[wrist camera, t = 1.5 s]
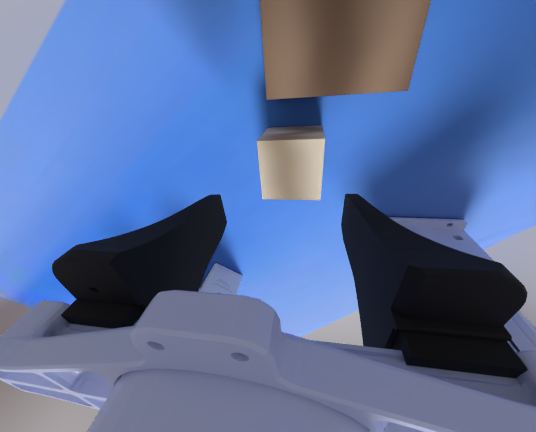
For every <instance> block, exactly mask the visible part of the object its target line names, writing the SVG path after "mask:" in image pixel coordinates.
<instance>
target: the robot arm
mask: <svg viewBox="0 0 536 432" xmlns="http://www.w3.org/2000/svg"><path fill="white" fill-rule="evenodd" d="M449 223H450V224H449ZM226 224H227V221H226V216H225V212H224V208H223V204H222V200H221V196H220V195H209V196H207V197H205V198H203V199H201V200H199V201H197V202H196V203H194V204H192V205H190V206H189V207H187V208H185V209H183V210H181V211H179V212H177V213H176V214H174V215H172V216H170V217H168V218H166V219H164V220H161V221H159V222H157V223H154V224H152V225H149V226H147V227H144V228H141V229H138V230H135V231H132V232H129V233H126V234H122V235H119V236H115V237H111V238H108V239H103V240H99V241H94V242H89V243H85V244H79V245H76V246H74V247H73V248H71V249H70V250H69V251H67V252H66V253H65V254H63V255H62V256H61V257H59V258H58V259H57V260H55V261H54V263H53V264H52V270H53V273H54V275H55V277H56V278H57V279H58V280H59V282H60V283H61V284H62V285H63V286H64V287H65V288H66V289H67V290H68V291H69V292H70V293H71V294H72V295H73V296H74V297H75V298H76V300H75V301H74V302H73V303H72V304H71V305H69V304H67V303H64V302H56V301H47V300H44V301H41V302H39V303H38V304H37V305H36V306H35V307H34V308H33V309H31V310H30V311H29V312H28V313H27V314H26V315H25V316H23V317H22V318H21V319H20V320H19V321H17V323H15V324H14V325H13V326H12V327H11V328H10V329H8V330H7V331H6V332H5V333H4V334H2V335H1V336H0V380H2V381H4V382H6V383H8V384H9V385H12V386H14V387H16V388H18V389H20V390H22V391H25V392H30V393H34V394H39V395H44V396H48V397H52V398H56V399H60V400H64V401H68V402H71V403H75V404H79V405H83V406H86V407H90V408H93V409H97V410H100V411H99V412H98V414H97V416H96V417H95V419H94V421H93V422H92V424H91V426H90V427H89V429H88V430H87V432H536V327H535V326H534V325H533V324H532V323H531V322H530V321H529V320H528V319H527V318H526V317H525V316H524V315H523V314H522V313H521V312H520V311H519V310H520V309H521V307H522V306H523V305H524V303H525V302H526V298H527V291H526V289H525V287H524V285H523V284H522V283H521V282H520V281H519V280H518V279H517V278H516V277H515V276H514V275H512V273H510V272H509V270H508V269H507V268H505V266H503V265H502V264H501V263H498V262H495V261H494V260H492V258H491V257H489V256H488V254H487V253H486V252H485V251H484V250H483V249H482V248H481V247H480V246H479V245H478V244H477V243H476V242H475V241H474V240H473V239H472V238H471V237H470V236H469V235H468V234H467V233H466V232H465V231H464V229H465V227H466V225H467V223H466V222H465V221H464V220H459V219H428V218H398V217H387V216H386V215H384V214H383V213H382V212H380V211H379V210H377V209H376V208H375V207H373V206H372V205H371V204H370V203H368V202H367V201H366V200H365V199H363V198H362V197H361V196H359V195H358V194H345V201H344V208H343V215H342V223H341V226H342V234H343V240H344V244H345V248H346V251H347V255H348V258H349V262H350V265H351V269H352V272H353V276H354V281H355V287H356V293H357V300H358V307H359V313H360V321H361V328H362V337H363V346H357V345H348V344H339V343H331V342H321V341H313V340H308V339H304V338H301V337H298V336H294V335H291V334H287V333H284V332H282V331H281V325H280V319H279V317H278V315H277V313H276V312H275V310H274V309H273V308H272V307H271V306H269V305H268V304H266V303H265V302H263V301H262V300H260V299H256V298H252V297H248V296H243V295H231V294H219V293H206V292H198V290H199V287H200V284H201V281H202V279H203V276H204V273H205V271H206V268H207V266H208V264H209V262H210V260H211V258H212V256H213V254H214V252H215V250H216V248H217V246H218V244H219V242H220V240H221V238H222V236H223V233H224V230H225V227H226ZM447 224H449V225H447Z"/></svg>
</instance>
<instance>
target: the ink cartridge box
mask: <svg viewBox="0 0 536 432" xmlns="http://www.w3.org/2000/svg"><path fill="white" fill-rule="evenodd" d="M241 278H242V275H241V274H238V273H236V272H234V271H232V270H230V269H228V268H226V267H224V266H222V265H220V264H218V263H215V264H214V266H213V267H212V269H211V271H210V272H209V274H208V276H207V278H206V279H205V281H204V283H203V284H202V286H201V288H200V289H199V291H198V292H206V293H219V294H231V295H236V294H237V291H238V287H239V284H240V281H241Z"/></svg>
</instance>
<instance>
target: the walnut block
mask: <svg viewBox="0 0 536 432" xmlns="http://www.w3.org/2000/svg"><path fill="white" fill-rule="evenodd" d="M430 1H431V0H260V7H261V23H262V38H263V54H264V69H265V85H266V100H271V99H287V98H302V97H317V96H333V95H348V94H363V93H379V92H394V91H408V88H409V84H410V80H411V76H412V72H413V68H414V64H415V61H416V57H417V53H418V49H419V45H420V41H421V37H422V33H423V29H424V25H425V21H426V17H427V13H428V9H429V5H430Z"/></svg>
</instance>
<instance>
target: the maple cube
mask: <svg viewBox="0 0 536 432" xmlns="http://www.w3.org/2000/svg"><path fill="white" fill-rule="evenodd" d="M257 146H258V157H259V167H260V178H261V188H262V199H289V200H320V199H321V186H322V173H323V160H324V148H325V136H324V132H323V128H322V125H317V126H292V127H268V128H267V129H266V130H265V132H264V133H263V134H262V135H261V137H260V138H259V139H258V140H257Z"/></svg>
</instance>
